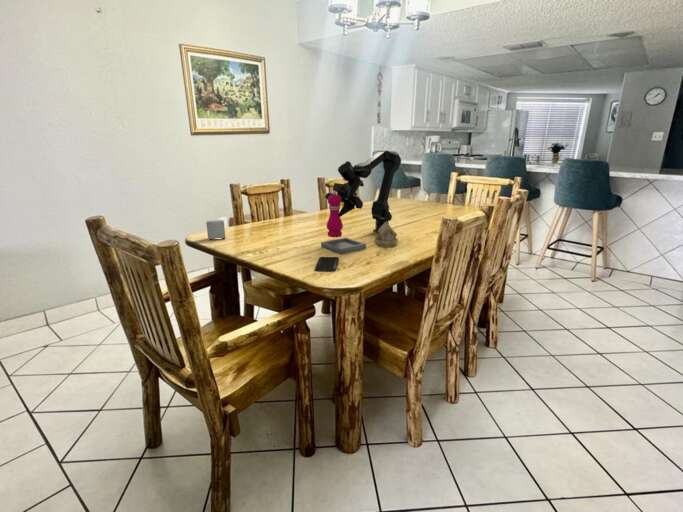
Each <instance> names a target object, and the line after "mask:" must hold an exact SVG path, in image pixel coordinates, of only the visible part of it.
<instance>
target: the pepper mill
mask: <svg viewBox="0 0 683 512" xmlns="http://www.w3.org/2000/svg"><path fill="white" fill-rule="evenodd" d="M331 193H333V195H330V196H329V197H328V200H327V203H328V209H329V218H328V220H327V223H326V229H327V230H328V231H327V236H328V237H330V238H342V236H343V235H342V234H343V233H342V229H343V227H344V225H343V224H344V223H343V221H342V219H341V217H339V216H338V215H339V213H340V210H341V204H342V202H341V197H340V196H339V195H338V194H337V192H336V191H333V190H332V192H331Z"/></svg>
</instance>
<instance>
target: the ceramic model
mask: <svg viewBox="0 0 683 512" xmlns="http://www.w3.org/2000/svg"><path fill="white" fill-rule="evenodd" d="M377 233H378V236H376V237H375V238H374V240H373V241H374V243H375V244H376V245H377V246H379V247H382V246H383V247H382V248H386V247H387V248H388V247H389V248H390V247H394V246H397V244H398V241H399V240H398V238H397V236H398V233H396V231H395V230H394V229H393V228H392V227H391V225H390V222H389V221H388V222H387V221H386V222H385V223H384V224H383V225H382V226H381V227H380V228H379V230H378V232H377Z"/></svg>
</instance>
